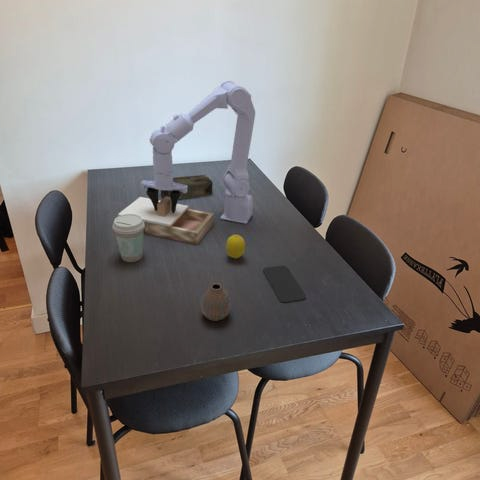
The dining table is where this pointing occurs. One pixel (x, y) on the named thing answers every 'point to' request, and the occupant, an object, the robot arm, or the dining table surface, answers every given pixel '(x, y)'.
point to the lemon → (235, 246)
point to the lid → (149, 214)
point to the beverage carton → (192, 186)
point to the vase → (215, 303)
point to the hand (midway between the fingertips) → (165, 210)
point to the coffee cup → (129, 236)
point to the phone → (284, 284)
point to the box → (184, 227)
